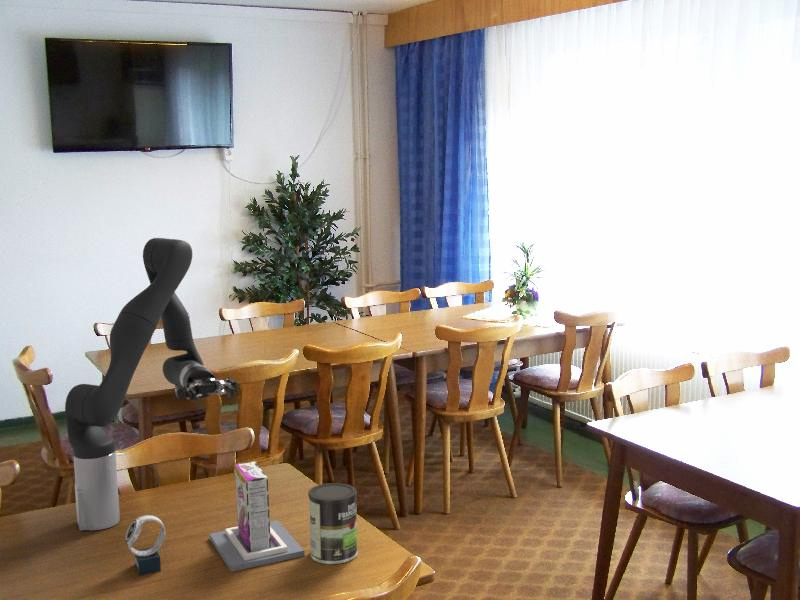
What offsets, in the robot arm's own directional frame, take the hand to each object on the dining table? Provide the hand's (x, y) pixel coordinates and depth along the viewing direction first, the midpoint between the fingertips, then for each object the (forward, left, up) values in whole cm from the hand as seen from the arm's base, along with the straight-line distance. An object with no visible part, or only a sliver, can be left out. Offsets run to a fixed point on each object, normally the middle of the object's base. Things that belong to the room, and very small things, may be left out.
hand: (213, 395), depth 196 cm
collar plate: (+3, -20, -30) cm, 36 cm away
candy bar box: (+3, -20, -29) cm, 35 cm away
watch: (-20, -19, -30) cm, 41 cm away
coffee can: (+17, -31, -30) cm, 47 cm away
